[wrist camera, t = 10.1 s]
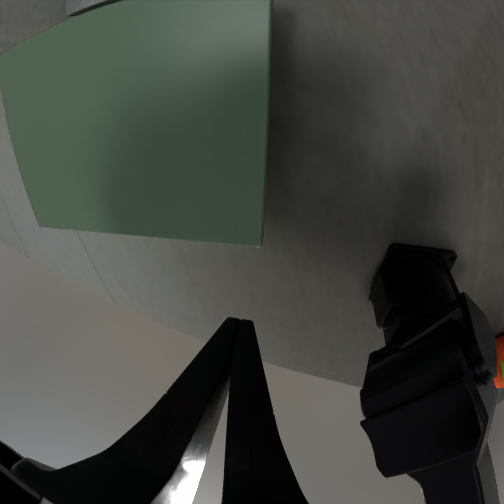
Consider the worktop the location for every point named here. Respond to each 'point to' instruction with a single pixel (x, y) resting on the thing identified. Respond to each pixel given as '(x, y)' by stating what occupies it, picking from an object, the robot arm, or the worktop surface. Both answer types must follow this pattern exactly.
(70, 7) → the control panel
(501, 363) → the clementine
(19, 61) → the lid
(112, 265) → the worktop surface
